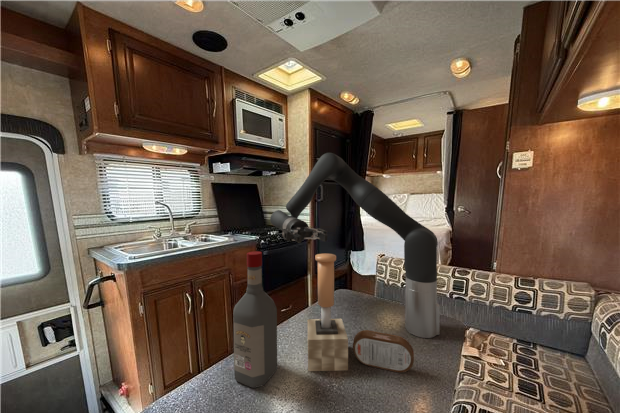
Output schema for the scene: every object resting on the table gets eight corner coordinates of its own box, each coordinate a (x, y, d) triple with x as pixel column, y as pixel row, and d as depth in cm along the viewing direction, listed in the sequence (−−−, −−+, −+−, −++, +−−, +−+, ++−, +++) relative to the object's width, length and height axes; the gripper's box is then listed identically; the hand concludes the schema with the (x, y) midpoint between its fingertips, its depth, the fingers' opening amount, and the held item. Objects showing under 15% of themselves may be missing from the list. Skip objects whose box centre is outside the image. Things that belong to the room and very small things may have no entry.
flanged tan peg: (335, 326, 66) (334, 253, 66) (337, 338, 61) (337, 258, 60) (315, 327, 66) (314, 253, 66) (316, 339, 61) (315, 258, 60)
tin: (413, 369, 59) (413, 336, 59) (414, 378, 56) (414, 343, 56) (353, 356, 64) (353, 326, 64) (351, 364, 61) (351, 332, 61)
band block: (341, 345, 69) (341, 316, 69) (348, 370, 59) (347, 335, 59) (307, 346, 69) (307, 316, 68) (308, 371, 59) (307, 336, 58)
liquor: (259, 392, 52) (257, 259, 51) (228, 379, 56) (226, 255, 55) (281, 366, 61) (280, 250, 60) (253, 356, 64) (251, 247, 64)
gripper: (276, 218, 83) (291, 227, 68) (313, 218, 89) (334, 226, 74) (276, 239, 84) (290, 252, 69) (312, 237, 89) (333, 249, 75)
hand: (313, 239), depth 71 cm, fingers open, 8 cm apart
